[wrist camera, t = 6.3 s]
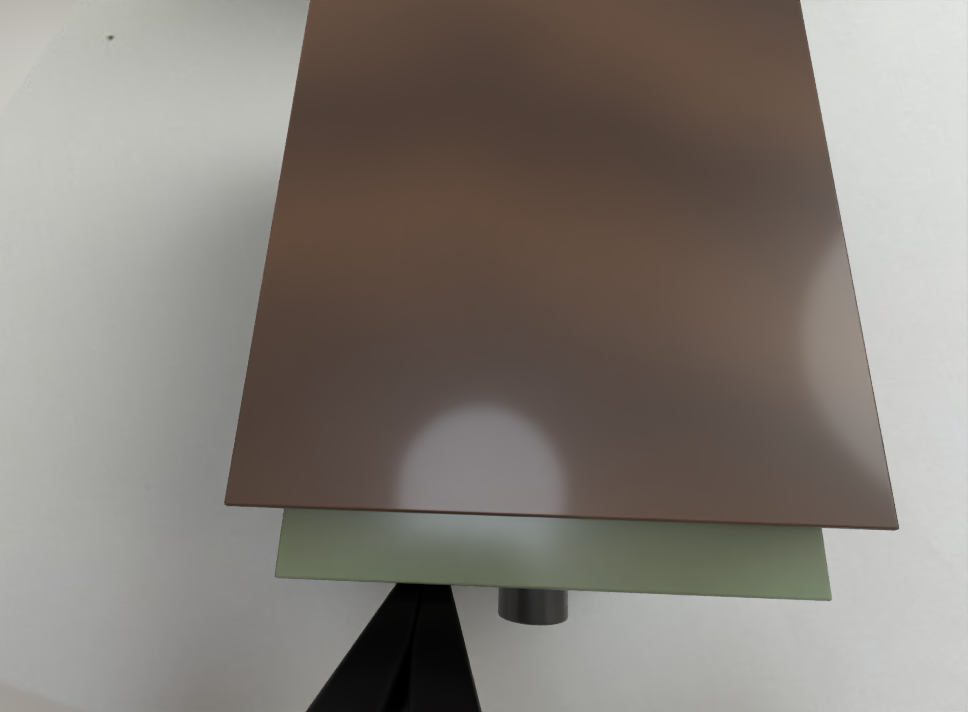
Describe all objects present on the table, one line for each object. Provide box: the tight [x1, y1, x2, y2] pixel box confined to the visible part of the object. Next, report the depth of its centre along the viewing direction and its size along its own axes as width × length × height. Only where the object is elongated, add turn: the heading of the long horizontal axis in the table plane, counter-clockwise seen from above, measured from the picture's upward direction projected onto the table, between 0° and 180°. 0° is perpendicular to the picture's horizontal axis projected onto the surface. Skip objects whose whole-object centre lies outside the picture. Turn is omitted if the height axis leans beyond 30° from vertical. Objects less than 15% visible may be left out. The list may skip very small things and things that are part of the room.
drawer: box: [275, 508, 832, 625], centre depth 13 cm, size 14×9×7 cm
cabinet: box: [224, 0, 899, 530], centre depth 13 cm, size 14×11×9 cm
